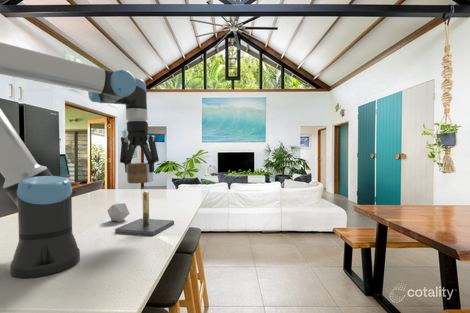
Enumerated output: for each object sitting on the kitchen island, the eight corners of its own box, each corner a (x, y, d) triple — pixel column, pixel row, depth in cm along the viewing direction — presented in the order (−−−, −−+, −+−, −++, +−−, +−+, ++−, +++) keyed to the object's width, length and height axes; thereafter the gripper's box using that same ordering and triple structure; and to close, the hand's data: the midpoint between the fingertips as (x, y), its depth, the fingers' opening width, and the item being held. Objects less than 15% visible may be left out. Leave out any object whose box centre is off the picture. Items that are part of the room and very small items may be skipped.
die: (133, 220, 120) (129, 202, 124) (124, 215, 112) (121, 195, 117) (115, 228, 119) (112, 208, 124) (106, 223, 112) (102, 202, 116)
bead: (142, 183, 96) (141, 164, 96) (123, 183, 98) (122, 164, 98) (155, 180, 104) (154, 162, 104) (137, 180, 106) (136, 162, 106)
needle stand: (153, 235, 96) (152, 194, 96) (115, 232, 100) (114, 193, 100) (174, 223, 111) (173, 188, 111) (140, 221, 115) (139, 188, 115)
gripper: (166, 120, 101) (169, 180, 102) (120, 123, 107) (123, 179, 108) (155, 118, 94) (158, 182, 95) (107, 122, 100) (110, 182, 100)
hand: (140, 181), depth 101 cm, fingers closed on bead, 8 cm apart
